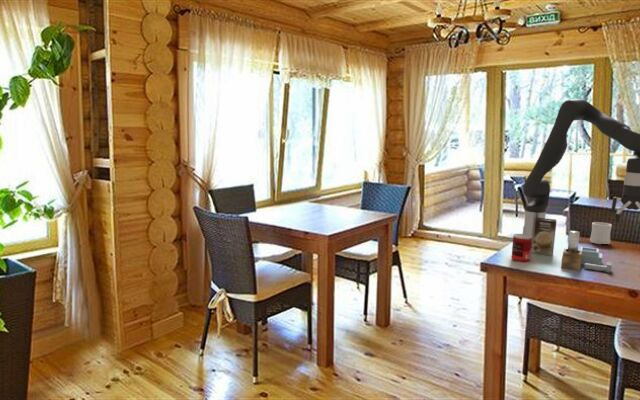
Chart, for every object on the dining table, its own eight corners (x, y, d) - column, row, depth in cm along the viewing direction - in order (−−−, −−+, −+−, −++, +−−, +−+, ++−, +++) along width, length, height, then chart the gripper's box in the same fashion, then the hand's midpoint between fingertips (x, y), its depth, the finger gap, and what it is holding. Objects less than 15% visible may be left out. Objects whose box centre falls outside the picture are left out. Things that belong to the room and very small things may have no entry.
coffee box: (531, 253, 229) (534, 219, 227) (532, 250, 235) (535, 217, 232) (553, 255, 225) (556, 221, 223) (553, 252, 231) (556, 219, 229)
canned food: (529, 258, 221) (531, 234, 219) (530, 263, 213) (532, 238, 212) (511, 256, 223) (513, 233, 222) (511, 261, 216) (513, 236, 214)
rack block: (574, 263, 214) (576, 249, 213) (575, 258, 221) (577, 245, 220) (601, 266, 209) (602, 253, 208) (601, 262, 216) (602, 249, 215)
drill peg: (566, 255, 208) (569, 232, 206) (567, 253, 211) (569, 230, 209) (577, 256, 206) (579, 233, 204) (577, 254, 209) (579, 231, 208)
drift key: (584, 269, 205) (585, 261, 204) (584, 266, 209) (585, 259, 208) (610, 272, 200) (611, 265, 200) (610, 270, 204) (611, 262, 203)
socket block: (561, 267, 207) (562, 252, 206) (563, 262, 215) (564, 247, 214) (579, 270, 203) (581, 255, 202) (581, 264, 212) (582, 249, 211)
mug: (613, 245, 246) (616, 225, 245) (595, 245, 247) (597, 225, 245) (600, 239, 259) (602, 220, 257) (582, 239, 259) (584, 220, 257)
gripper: (614, 183, 195) (610, 223, 197) (657, 186, 188) (652, 227, 190) (613, 181, 201) (609, 220, 204) (655, 184, 194) (651, 224, 197)
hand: (630, 224), depth 197 cm, fingers open, 8 cm apart
